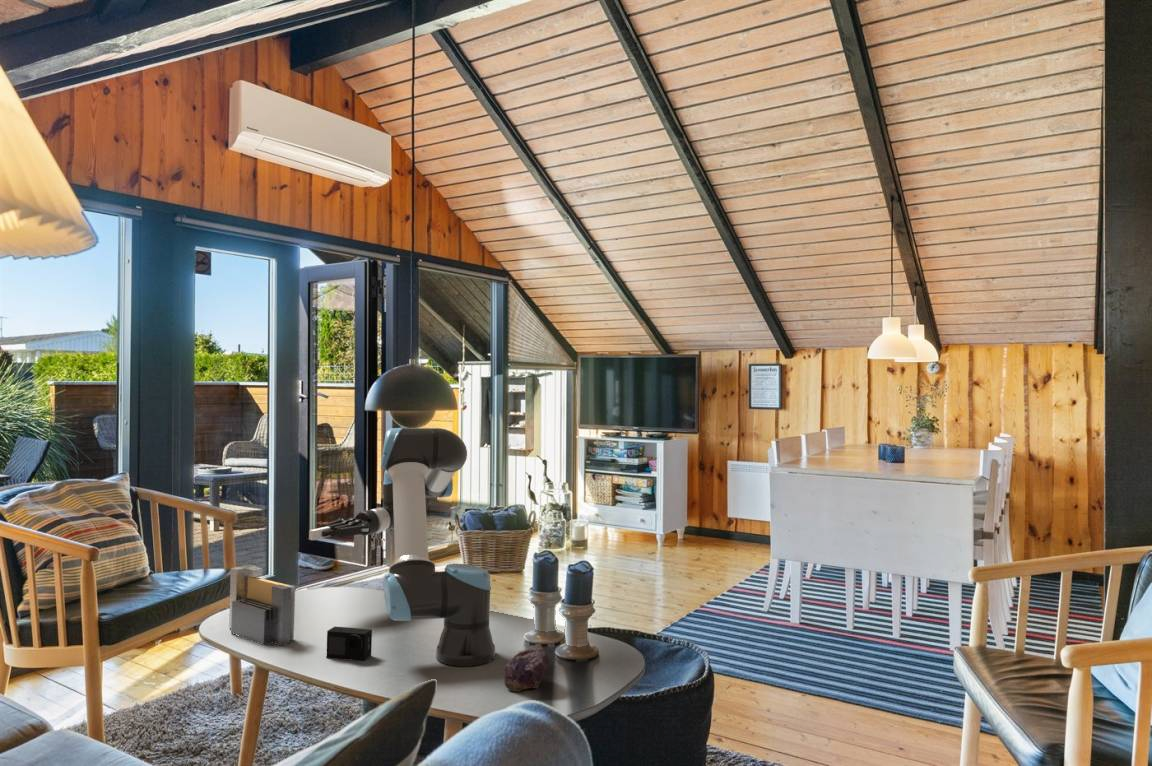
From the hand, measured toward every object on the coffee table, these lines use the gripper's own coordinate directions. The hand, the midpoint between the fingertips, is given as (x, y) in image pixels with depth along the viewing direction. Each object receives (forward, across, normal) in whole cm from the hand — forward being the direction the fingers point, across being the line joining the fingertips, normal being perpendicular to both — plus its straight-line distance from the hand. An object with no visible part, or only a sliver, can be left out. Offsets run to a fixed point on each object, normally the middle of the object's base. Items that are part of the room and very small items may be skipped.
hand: (310, 535), depth 229 cm
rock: (+3, -82, -19) cm, 84 cm away
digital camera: (+14, -33, -23) cm, 42 cm away
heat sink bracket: (+16, 0, -25) cm, 30 cm away
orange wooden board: (+14, -2, -25) cm, 28 cm away
